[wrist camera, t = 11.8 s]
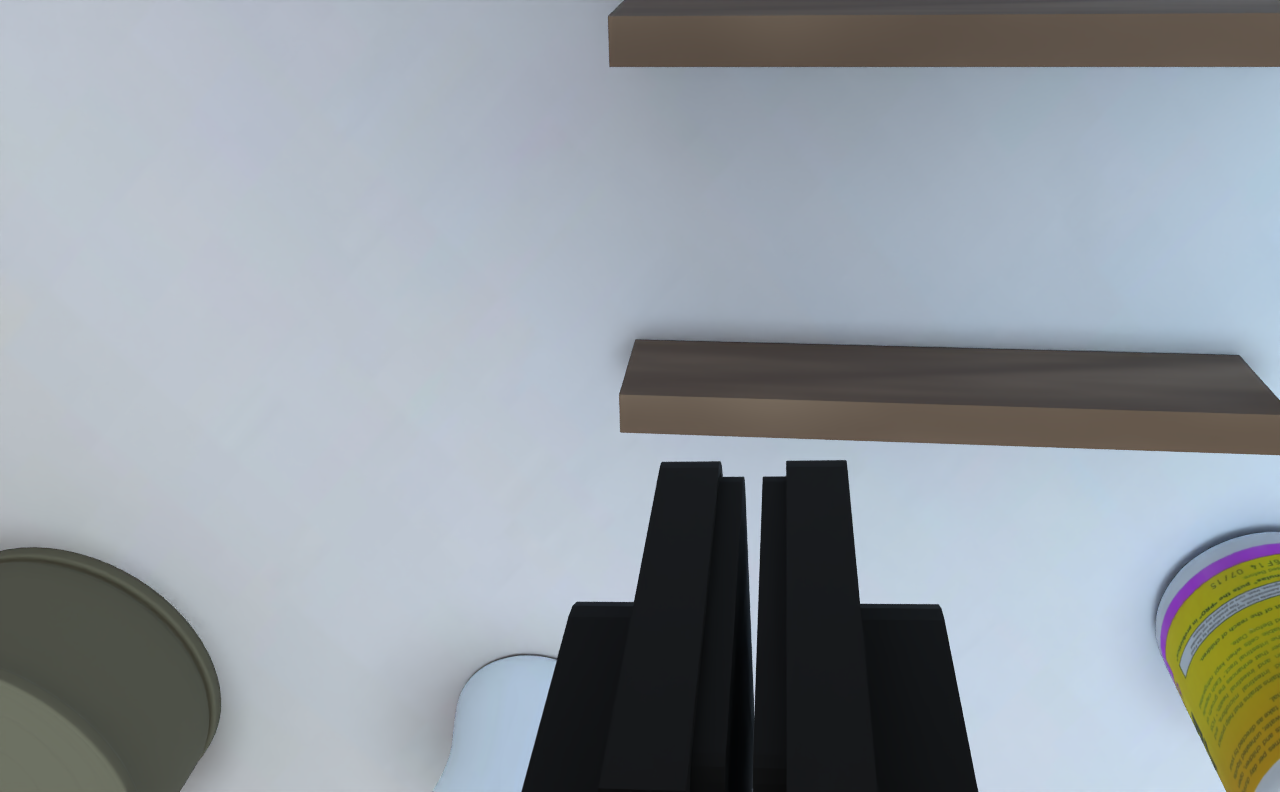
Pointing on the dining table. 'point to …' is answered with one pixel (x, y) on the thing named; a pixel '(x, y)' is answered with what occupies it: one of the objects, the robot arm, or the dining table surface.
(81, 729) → the can
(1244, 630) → the supplement bottle
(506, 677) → the beer glass
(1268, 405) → the chute
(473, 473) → the dining table surface
